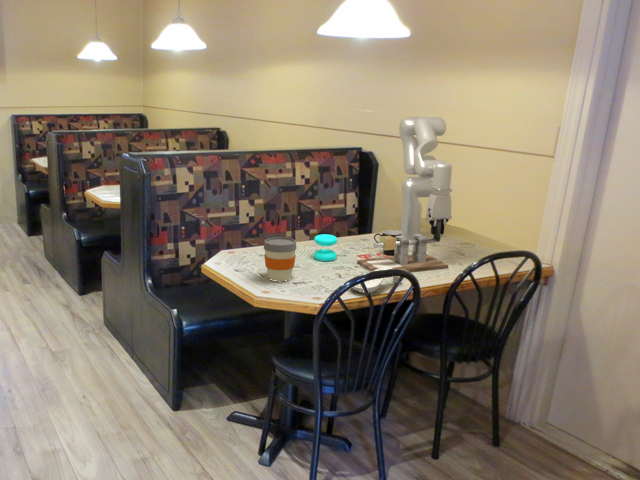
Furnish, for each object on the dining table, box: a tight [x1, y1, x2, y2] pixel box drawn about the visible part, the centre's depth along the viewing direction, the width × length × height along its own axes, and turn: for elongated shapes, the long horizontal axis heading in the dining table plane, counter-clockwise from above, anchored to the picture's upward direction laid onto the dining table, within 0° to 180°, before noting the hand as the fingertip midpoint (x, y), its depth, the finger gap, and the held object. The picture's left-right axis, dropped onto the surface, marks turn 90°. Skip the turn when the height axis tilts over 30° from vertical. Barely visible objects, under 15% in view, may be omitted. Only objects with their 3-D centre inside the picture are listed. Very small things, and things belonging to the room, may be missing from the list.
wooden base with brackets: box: [356, 233, 449, 273], centre depth 248 cm, size 18×34×12 cm, turn 114°
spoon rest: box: [352, 267, 399, 294], centre depth 221 cm, size 24×12×7 cm, turn 130°
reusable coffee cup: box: [263, 236, 297, 281], centre depth 227 cm, size 13×13×15 cm
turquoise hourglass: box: [313, 233, 338, 262], centre depth 256 cm, size 10×10×10 cm
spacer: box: [378, 235, 396, 250], centre depth 244 cm, size 5×5×5 cm
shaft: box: [373, 219, 442, 249], centre depth 247 cm, size 3×32×10 cm, turn 114°
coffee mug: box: [373, 229, 402, 257], centre depth 267 cm, size 12×9×10 cm
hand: (437, 233), depth 253 cm, fingers closed on shaft, 3 cm apart
